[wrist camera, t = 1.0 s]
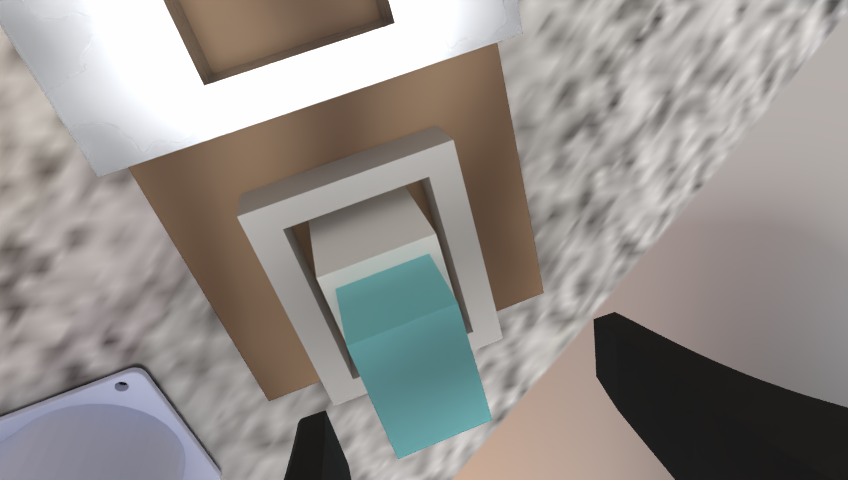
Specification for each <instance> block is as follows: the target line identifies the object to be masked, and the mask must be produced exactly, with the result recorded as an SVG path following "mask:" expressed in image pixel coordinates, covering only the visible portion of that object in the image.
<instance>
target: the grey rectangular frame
mask: <svg viewBox="0 0 848 480" xmlns="http://www.w3.org/2000/svg"><path fill="white" fill-rule="evenodd" d="M418 180H421V182H422V186H423V189H424V192H425V196H426V199H427V202H428V206H429V209H430V213H431V216H432V219H433V223H434V226H435V229H436V233H437V236H438V240H439V243H440V246H441V250H442V253H443V257H444V260H445V263H446V267H447V270H448V273H449V277H450V280H451V284H452V287H453V290H454V294H455V297H456V300H457V302H458V305H459V309H460V312H461V315H462V319H463V322H464V325H465V329H466V332H467V336H468V339H469V342H470V346H471V349H472V351H473V350H476V349H478V348H481V347H483V346H486V345H488V344H491V343H493V342H496V341H498V340H501V339H503V336H502V332H501V328H500V324H499V320H498V316H497V312H496V308H495V304H494V300H493V296H492V292H491V288H490V284H489V280H488V276H487V272H486V268H485V264H484V260H483V256H482V252H481V248H480V244H479V240H478V236H477V232H476V228H475V224H474V220H473V216H472V212H471V208H470V204H469V200H468V196H467V192H466V188H465V184H464V180H463V176H462V172H461V168H460V164H459V160H458V156H457V152H456V148H455V144H454V140H453V139H452V138H451V137H449V136H448V135H447V134H446V133H445V132H444V131H442V130H441V129H440V128H439V127H438V126H437V125H436V126H433V127H430V128H427V129H425V130H422V131H419V132H416V133H413V134H410V135H408V136H405V137H402V138H399V139H396V140H393V141H390V142H388V143H385V144H382V145H379V146H376V147H373V148H371V149H368V150H365V151H362V152H359V153H356V154H353V155H351V156H348V157H345V158H342V159H339V160H336V161H334V162H331V163H328V164H325V165H322V166H319V167H316V168H314V169H311V170H308V171H305V172H302V173H299V174H297V175H294V176H291V177H288V178H285V179H282V180H279V181H277V182H274V183H271V184H268V185H265V186H262V187H260V188H257V189H254V190H251V191H248V192H245V193H243V194H241V196H240V202H239V208H238V214H237V218H238V220H239V222H240V224H241V226H242V228H243V230H244V231H245V233H246V235H247V237H248V239H249V241H250V243H251V245H252V247H253V249H254V251H255V253H256V255H257V257H258V259H259V261H260V263H261V265H262V267H263V268H264V270H265V272H266V274H267V276H268V278H269V280H270V282H271V284H272V286H273V288H274V290H275V292H276V294H277V296H278V298H279V300H280V302H281V304H282V305H283V307H284V309H285V311H286V313H287V315H288V317H289V319H290V321H291V323H292V325H293V327H294V329H295V331H296V333H297V335H298V337H299V339H300V341H301V342H302V344H303V346H304V348H305V350H306V352H307V354H308V356H309V358H310V360H311V362H312V364H313V366H314V368H315V370H316V372H317V374H318V376H319V378H320V379H321V381H322V383H323V385H324V387H325V389H326V391H327V393H328V395H329V397H330V399H331V401H332V403H333V405H334V406H337V405H339V404H342V403H344V402H347V401H349V400H351V399H354V398H356V397H359V396H361V395H364V394H366V393H368V392H367V390H366V388H365V386H364V383H363V381H362V379H361V377H360V375H359V372H358V370H357V368H356V366H355V364H354V362H353V359H352V357H351V355H350V353H349V351H348V348H347V347H346V345H345V343H344V340H343V338H342V336H341V334H340V332H339V329H338V327H337V325H336V323H335V321H334V318H333V316H332V314H331V312H330V310H329V308H328V305H327V303H326V301H325V299H324V297H323V294H322V292H321V290H320V288H319V286H318V284H317V281H316V279H315V277H314V275H313V273H312V270H311V268H310V266H309V264H308V262H307V260H306V257H305V255H304V253H303V251H302V249H301V246H300V244H299V242H298V240H297V238H296V235H295V233H294V231H293V229H292V227H291V226H294V225H296V224H299V223H302V222H305V221H307V220H310V219H313V218H316V217H318V216H321V215H324V214H327V213H330V212H332V211H335V210H338V209H341V208H343V207H346V206H349V205H352V204H354V203H357V202H360V201H363V200H365V199H368V198H371V197H374V196H377V195H379V194H382V193H385V192H388V191H390V190H393V189H396V188H399V187H401V186H404V185H407V184H410V183H412V182H415V181H418Z"/></svg>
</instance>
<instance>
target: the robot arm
mask: <svg viewBox="0 0 848 480" xmlns="http://www.w3.org/2000/svg"><path fill="white" fill-rule="evenodd" d="M594 336H595V357H596V376H597V378H598V380H599V381H600V383H601V384H602V386H603V388H604V389H605V391H606V393H607V394H608V396H609V397H610V399H611V400H612V402H613V403H614V405H615V406H616V408H617V409H618V411H619V412H620V413H621V414H622V416H623V417H624V418H625V419H626V421H627V422H628V423H629V424H630V425H631V427H632V428H633V429H634V430H635V432H636V433H637V434H638V435H639V436H640V438H641V439H642V440H643V441H644V442H645V444H646V445H647V446H648V447H649V449H650V450H651V451H652V452H653V453H654V455H655V456H656V457H657V458H658V459H659V461H660V462H661V463H662V464H663V466H664V467H665V468H666V469H667V470H668V472H669V473H670V474H671V475H672V476H673V478H674V479H675V480H848V408H847V407H843V406H840V405H836V404H833V403H830V402H826V401H823V400H820V399H816V398H812V397H809V396H806V395H803V394H800V393H797V392H794V391H791V390H788V389H784V388H782V387H779V386H776V385H774V384H771V383H768V382H765V381H762V380H760V379H757V378H754V377H752V376H749V375H746V374H744V373H741V372H739V371H737V370H734V369H732V368H730V367H727V366H725V365H722V364H720V363H718V362H715V361H713V360H711V359H709V358H707V357H704V356H702V355H700V354H698V353H695V352H694V351H691V350H689V349H687V348H685V347H683V346H681V345H679V344H677V343H675V342H673V341H671V340H669V339H667V338H665V337H663V336H661V335H659V334H657V333H655V332H653V331H651V330H649V329H647V328H645V327H643V326H641V325H639V324H637V323H636V322H634V321H632V320H629V319H628V318H626V317H624V316H622V315H620V314H618V313H616V312H613V313H611V314H608V315H605V316H602V317H599V318H596V319H594ZM118 382H125V383H127V384H128V385H120V384H119V383H118ZM221 475H222V474H221V472H220V470H219V469H218V468H217V466H216V465H215V464H214V462H213V461H212V460H211V458H210V457H209V456H208V454H207V453H206V452H205V450H204V449H203V448H202V446H201V445H200V444H199V442H198V441H197V440H196V438H195V437H194V435H193V434H192V433H191V431H190V430H189V429H188V427H187V426H186V425H185V423H184V422H183V421H182V419H181V418H180V417H179V415H178V414H177V413H176V411H175V410H174V409H173V407H172V406H171V405H170V403H169V402H168V401H167V399H166V398H165V396H164V395H163V394H162V392H161V391H160V390H159V388H158V387H157V386H156V384H155V383H154V382H153V380H152V379H151V378H150V376H149V375H148V374H147V372H146V371H144V370H143V369H140V368H129V369H126V370H124V371H121V372H119V373H116V374H113V375H111V376H108V377H105V378H103V379H100V380H97V381H95V382H92V383H89V384H87V385H84V386H82V387H79V388H76V389H74V390H71V391H68V392H66V393H63V394H60V395H58V396H55V397H52V398H50V399H47V400H44V401H42V402H39V403H37V404H34V405H31V406H29V407H26V408H23V409H21V410H18V411H15V412H13V413H10V414H7V415H5V416H2V417H0V480H221ZM284 480H351V476H350V471H349V465H348V463H347V460H346V458H345V455H344V453H343V451H342V448H341V446H340V444H339V441H338V439H337V436H336V434H335V432H334V429H333V427H332V425H331V422H330V420H329V417H328V415H327V413H326V410H325V411H322V412H319V413H316V414H314V415H311V416H308V417H305V418H302V419H301V420H300V421H299V423H298V427H297V432H296V436H295V440H294V445H293V449H292V453H291V456H290V460H289V464H288V467H287V471H286V474H285V477H284Z"/></svg>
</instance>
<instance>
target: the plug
mask: <svg viewBox="0 0 848 480" xmlns="http://www.w3.org/2000/svg"><path fill="white" fill-rule="evenodd" d="M308 221H309V229H310V236H311V243H312V250H313V257H314V265H315V272H316V279H317V281H318V283H319V285H320V287H321V290H322V292H323V294H324V296H325V298H326V300H327V303H328V305H329V307H330V309H331V311H332V314H333V316H334V318H335V320H336V322H337V325H338V327H339V329H340V331H341V333H342V336H343V338H344V340H345V342H346V346H347V348H348V351H349V353H350V355H351V357H352V359H353V362H354V364H355V366H356V368H357V370H358V372H359V375H360V377H361V379H362V381H363V383H364V386H365V388H366V390H367V392H368V394H369V397H370V399H371V401H372V403H373V405H374V407H375V410H376V412H377V414H378V416H379V418H380V421H381V423H382V425H383V427H384V429H385V432H386V434H387V436H388V438H389V440H390V442H391V445H392V447H393V449H394V451H395V453H396V456H397V458H398V459H400V458H402V457H404V456H407V455H409V454H412V453H414V452H416V451H419V450H421V449H423V448H426V447H428V446H431V445H433V444H435V443H438V442H440V441H443V440H445V439H447V438H450V437H452V436H455V435H457V434H459V433H462V432H464V431H467V430H469V429H471V428H474V427H476V426H479V425H481V424H483V423H486V422H488V421H490V420H492V417H491V414H490V410H489V407H488V403H487V400H486V397H485V393H484V390H483V386H482V383H481V380H480V376H479V373H478V370H477V366H476V363H475V359H474V356H473V353H472V349H471V346H470V342H469V339H468V336H467V332H466V329H465V325H464V322H463V319H462V315H461V312H460V309H459V305H458V302H457V301H456V299H455V296H454V292H453V289H452V286H451V282H450V279H449V276H448V272H447V269H446V266H445V262H444V259H443V255H442V252H441V249H440V245H439V242H438V239H437V235H436V233H435V231H434V230H433V228H432V227H431V225H430V224H429V222H428V221H427V219H426V217H425V216H424V214H423V213H422V211H421V210H420V208H419V207H418V205H417V204H416V202H415V201H414V199H413V198H412V196H411V195H410V193H409V192H408V190H407V188H406V187H405V185H404V186H401V187H399V188H396V189H393V190H390V191H388V192H385V193H382V194H379V195H377V196H374V197H371V198H368V199H365V200H363V201H360V202H357V203H354V204H352V205H349V206H346V207H343V208H341V209H338V210H335V211H332V212H330V213H327V214H324V215H321V216H318V217H316V218H313V219H310V220H308Z"/></svg>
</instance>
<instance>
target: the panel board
mask: <svg viewBox="0 0 848 480" xmlns="http://www.w3.org/2000/svg"><path fill="white" fill-rule="evenodd" d="M179 1H180V4H181V6H182V8H183V10H184V12H185V14H186V16H187V19H188V21H189V23H190V25H191V27H192V29H193V31H194V34H195V36H196V38H197V40H198V42H199V44H200V46H201V49H202V51H203V53H204V55H205V57H206V59H207V62H208V64H209V66H210V68H211V70H212V72H213V74H214V73H217V72H220V71H223V70H226V69H229V68H232V67H235V66H238V65H242V64H245V63H248V62H251V61H254V60H257V59H260V58H263V57H266V56H269V55H272V54H275V53H278V52H281V51H285V50H288V49H291V48H294V47H297V46H300V45H303V44H306V43H309V42H312V41H315V40H318V39H321V38H324V37H328V36H331V35H334V34H337V33H340V32H343V31H346V30H349V29H352V28H355V27H358V26H361V25H364V24H367V23H371V22H374V21H377V20H380V15H379V12H378V8H377V5H376V1H375V0H179ZM436 125H437V126H438V127H439V128H440V129H441V130H442V131H444V132H445V133H446V134H447V135H448V136H449V137H451V138H452V139H453V140H454V144H455V148H456V152H457V156H458V160H459V164H460V168H461V172H462V176H463V180H464V184H465V188H466V192H467V196H468V200H469V204H470V208H471V212H472V216H473V220H474V224H475V228H476V232H477V236H478V240H479V244H480V248H481V252H482V256H483V260H484V264H485V268H486V272H487V276H488V280H489V284H490V288H491V292H492V296H493V300H494V304H495V308H496V311H499V310H501V309H504V308H506V307H509V306H511V305H514V304H516V303H519V302H522V301H524V300H527V299H529V298H532V297H534V296H537V295H539V294H542V293H544V291H543V286H542V281H541V275H540V270H539V265H538V259H537V254H536V249H535V243H534V238H533V233H532V227H531V222H530V217H529V211H528V206H527V200H526V195H525V190H524V184H523V179H522V174H521V168H520V163H519V158H518V152H517V147H516V142H515V136H514V131H513V125H512V120H511V115H510V109H509V104H508V99H507V93H506V88H505V83H504V77H503V72H502V67H501V61H500V56H499V51H498V45H497V42H496V43H493V44H490V45H487V46H484V47H481V48H478V49H475V50H473V51H470V52H467V53H464V54H461V55H458V56H455V57H452V58H449V59H446V60H443V61H440V62H437V63H434V64H431V65H428V66H425V67H422V68H419V69H416V70H413V71H410V72H408V73H405V74H402V75H399V76H396V77H393V78H390V79H387V80H384V81H381V82H378V83H375V84H372V85H369V86H366V87H363V88H360V89H357V90H354V91H351V92H348V93H345V94H343V95H340V96H337V97H334V98H331V99H328V100H325V101H322V102H319V103H316V104H313V105H310V106H307V107H304V108H301V109H298V110H295V111H292V112H289V113H286V114H283V115H280V116H278V117H275V118H272V119H269V120H266V121H263V122H260V123H257V124H254V125H251V126H248V127H245V128H242V129H239V130H236V131H233V132H230V133H227V134H224V135H221V136H218V137H215V138H213V139H210V140H207V141H204V142H201V143H198V144H195V145H192V146H189V147H186V148H183V149H180V150H177V151H174V152H171V153H168V154H165V155H162V156H159V157H156V158H153V159H150V160H148V161H145V162H142V163H139V164H136V165H133V166H130V167H128V168H129V170H130V171H131V173H132V175H133V176H134V178H135V180H136V181H137V183H138V185H139V186H140V188H141V190H142V191H143V193H144V195H145V196H146V198H147V200H148V201H149V203H150V205H151V206H152V208H153V210H154V211H155V213H156V214H157V216H158V218H159V219H160V221H161V223H162V224H163V226H164V228H165V229H166V231H167V233H168V234H169V236H170V238H171V239H172V241H173V243H174V244H175V246H176V248H177V249H178V251H179V253H180V254H181V256H182V258H183V259H184V261H185V263H186V264H187V266H188V268H189V269H190V271H191V273H192V274H193V276H194V278H195V279H196V281H197V283H198V284H199V286H200V288H201V289H202V291H203V293H204V294H205V296H206V298H207V299H208V301H209V303H210V304H211V306H212V308H213V309H214V311H215V313H216V314H217V316H218V318H219V319H220V321H221V322H222V324H223V326H224V327H225V329H226V331H227V332H228V334H229V336H230V337H231V339H232V341H233V342H234V344H235V346H236V347H237V349H238V351H239V352H240V354H241V356H242V357H243V359H244V361H245V362H246V364H247V366H248V367H249V369H250V371H251V372H252V374H253V376H254V377H255V379H256V381H257V382H258V384H259V386H260V387H261V389H262V391H263V392H264V394H265V396H266V397H267V399H268V401H271V400H274V399H276V398H279V397H281V396H284V395H286V394H289V393H291V392H294V391H296V390H299V389H301V388H304V387H307V386H309V385H312V384H314V383H317V382H319V381H321V379H320V378H319V376H318V374H317V372H316V370H315V368H314V366H313V364H312V362H311V360H310V358H309V356H308V354H307V352H306V350H305V348H304V346H303V344H302V342H301V341H300V339H299V337H298V335H297V333H296V331H295V329H294V327H293V325H292V323H291V321H290V319H289V317H288V315H287V313H286V311H285V309H284V307H283V305H282V304H281V302H280V300H279V298H278V296H277V294H276V292H275V290H274V288H273V286H272V284H271V282H270V280H269V278H268V276H267V274H266V272H265V270H264V268H263V267H262V265H261V263H260V261H259V259H258V257H257V255H256V253H255V251H254V249H253V247H252V245H251V243H250V241H249V239H248V237H247V235H246V233H245V231H244V230H243V228H242V226H241V224H240V222H239V220H238V218H237V214H238V208H239V202H240V196H241V194H243V193H245V192H248V191H251V190H254V189H257V188H260V187H262V186H265V185H268V184H271V183H274V182H277V181H279V180H282V179H285V178H288V177H291V176H294V175H297V174H299V173H302V172H305V171H308V170H311V169H314V168H316V167H319V166H322V165H325V164H328V163H331V162H334V161H336V160H339V159H342V158H345V157H348V156H351V155H353V154H356V153H359V152H362V151H365V150H368V149H371V148H373V147H376V146H379V145H382V144H385V143H388V142H390V141H393V140H396V139H399V138H402V137H405V136H408V135H410V134H413V133H416V132H419V131H422V130H425V129H427V128H430V127H433V126H436ZM405 187H406V188H407V190H408V192H409V193H410V195H411V196H412V198H413V199H414V201H415V202H416V204H417V205H418V207H419V208H420V210H421V211H422V213H423V214H424V216H425V217H426V219H427V221H428V222H429V224H430V225H431V227H432V228H433V230H434V231H435V233H436V229H435V226H434V223H433V219H432V216H431V213H430V209H429V206H428V202H427V199H426V196H425V192H424V189H423V186H422V182H421V180H418V181H415V182H412V183H410V184H407V185H405ZM291 227H292V229H293V231H294V233H295V235H296V238H297V240H298V242H299V244H300V246H301V249H302V251H303V253H304V255H305V257H306V260H307V262H308V264H309V266H310V268H311V270H312V273H313V275H314V277H315V279H316V272H315V265H314V257H313V250H312V243H311V236H310V229H309V221H308V220H307V221H305V222H302V223H299V224H296V225H294V226H291ZM436 235H437V233H436ZM437 239H438V236H437ZM438 242H439V240H438ZM439 245H440V243H439ZM440 249H441V246H440ZM441 252H442V250H441ZM442 255H443V253H442ZM443 259H444V257H443ZM444 262H445V260H444ZM445 266H446V263H445ZM446 269H447V267H446ZM447 272H448V270H447ZM448 276H449V273H448ZM449 279H450V277H449ZM316 281H317V279H316ZM450 282H451V280H450ZM317 284H318V286H319V288H320V290H321V287H320V285H319V283H318V281H317ZM451 286H452V284H451ZM452 289H453V287H452ZM321 292H322V290H321ZM453 292H454V290H453ZM322 294H323V292H322ZM454 296H455V294H454ZM323 297H324V299H325V301H326V303H327V300H326V298H325V296H324V294H323ZM455 299H456V297H455ZM456 301H457V300H456ZM327 305H328V303H327ZM328 308H329V310H330V312H331V314H332V311H331V309H330V307H329V305H328ZM332 316H333V314H332ZM333 318H334V316H333ZM334 321H335V323H336V325H337V322H336V320H335V318H334ZM337 327H338V325H337ZM338 329H339V327H338ZM339 332H340V334H341V336H342V333H341V331H340V329H339ZM342 338H343V336H342ZM343 340H344V338H343ZM344 343H345V345H346V342H345V340H344ZM346 347H347V346H346Z"/></svg>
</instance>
